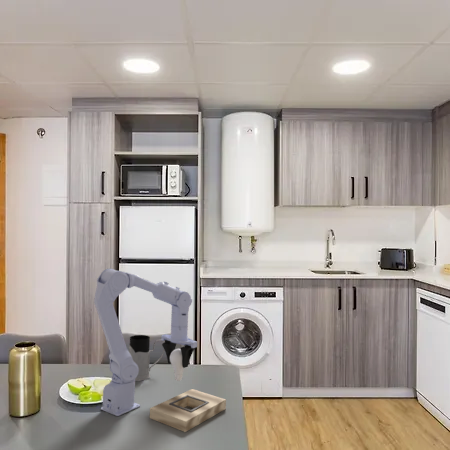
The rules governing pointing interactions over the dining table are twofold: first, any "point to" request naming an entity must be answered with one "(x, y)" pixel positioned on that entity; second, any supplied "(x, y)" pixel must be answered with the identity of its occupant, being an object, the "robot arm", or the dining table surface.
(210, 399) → the socket plate
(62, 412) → the dining table surface
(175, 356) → the lightbulb
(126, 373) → the robot arm
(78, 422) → the dining table surface
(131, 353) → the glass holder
